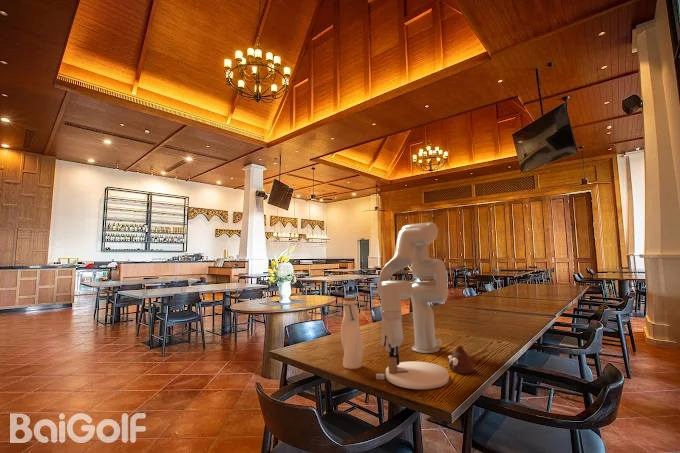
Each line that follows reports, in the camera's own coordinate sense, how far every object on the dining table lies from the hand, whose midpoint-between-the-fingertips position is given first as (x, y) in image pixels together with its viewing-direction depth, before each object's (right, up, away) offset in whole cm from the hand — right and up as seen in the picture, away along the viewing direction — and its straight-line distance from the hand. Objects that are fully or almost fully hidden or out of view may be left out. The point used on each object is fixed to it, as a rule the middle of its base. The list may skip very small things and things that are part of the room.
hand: (394, 364), depth 119 cm
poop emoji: (+26, -3, +2) cm, 26 cm away
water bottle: (-15, -6, +11) cm, 20 cm away
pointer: (-6, -4, -4) cm, 8 cm away
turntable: (+7, -3, -5) cm, 9 cm away
